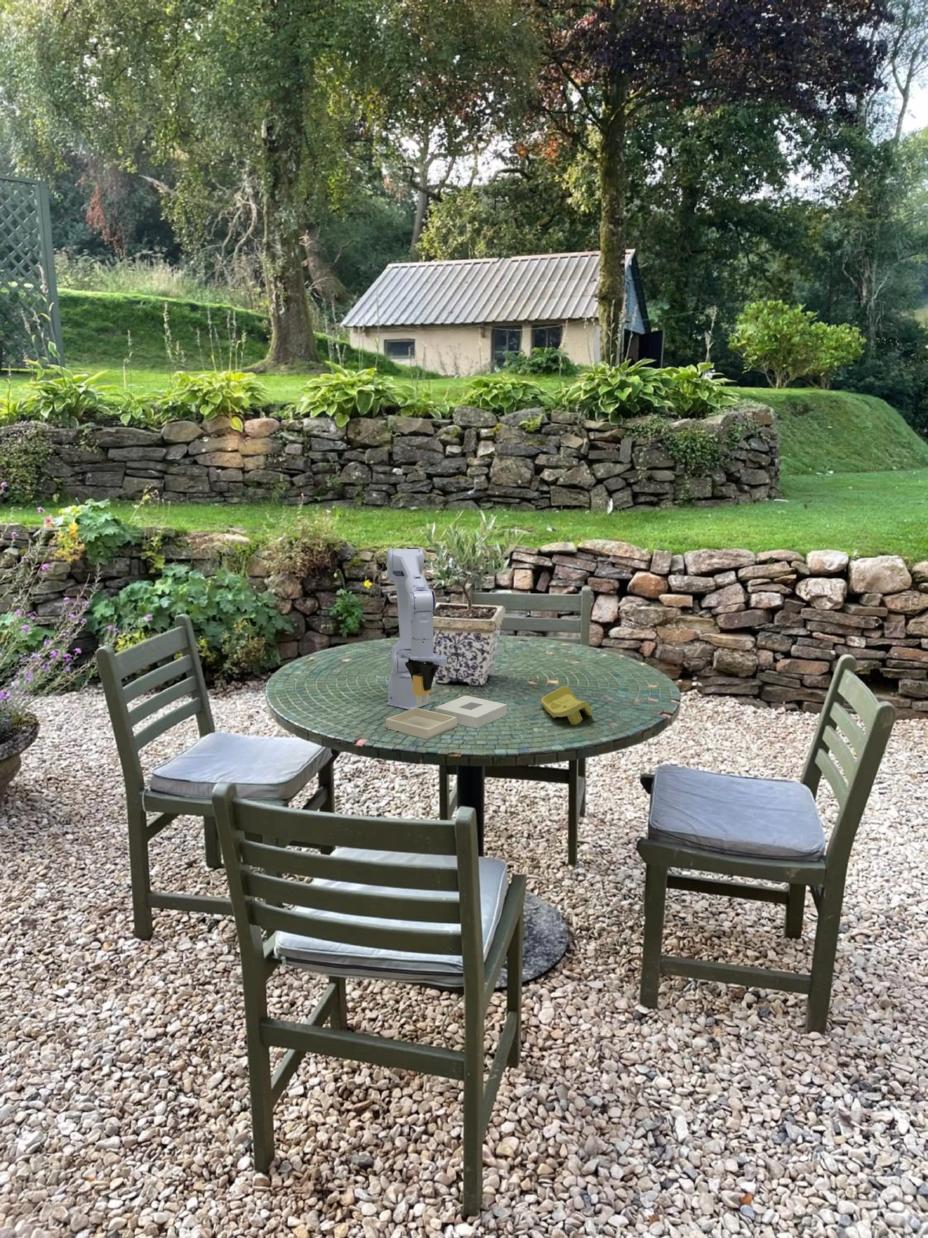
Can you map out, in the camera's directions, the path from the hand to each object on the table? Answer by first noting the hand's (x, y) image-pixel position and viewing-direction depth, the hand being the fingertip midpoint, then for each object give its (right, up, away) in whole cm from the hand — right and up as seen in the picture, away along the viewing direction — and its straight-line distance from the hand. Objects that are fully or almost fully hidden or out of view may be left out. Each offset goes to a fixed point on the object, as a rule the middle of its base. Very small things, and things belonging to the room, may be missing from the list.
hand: (422, 688), depth 213 cm
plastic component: (+39, -9, +11) cm, 41 cm away
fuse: (0, -4, +1) cm, 4 cm away
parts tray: (0, -10, +2) cm, 10 cm away
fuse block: (+13, -8, +11) cm, 19 cm away
